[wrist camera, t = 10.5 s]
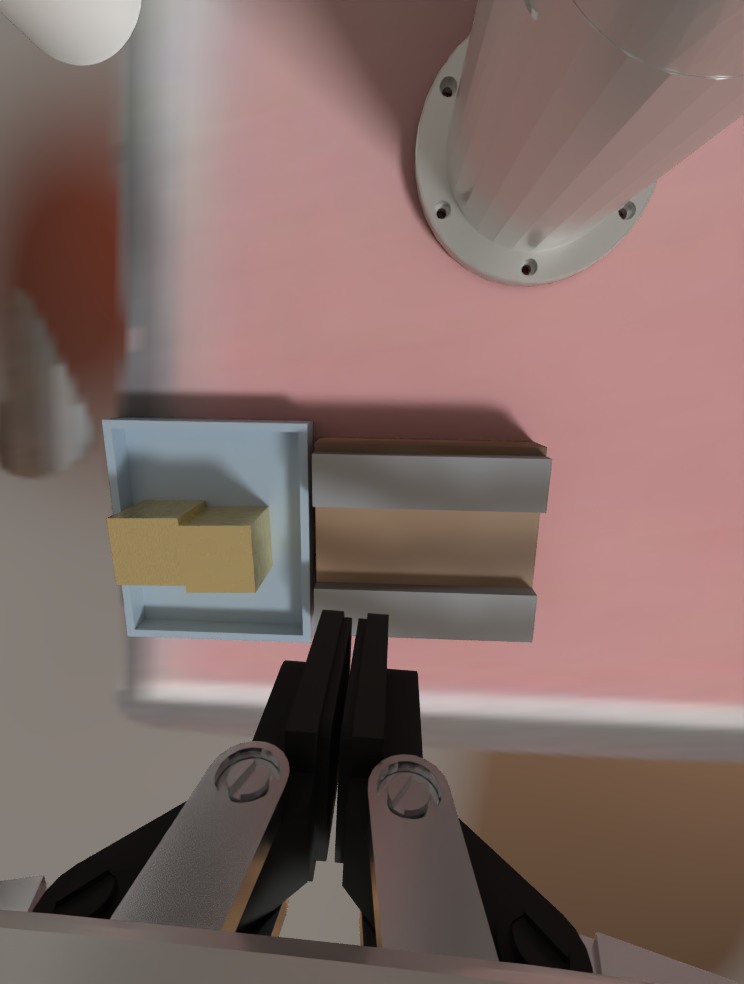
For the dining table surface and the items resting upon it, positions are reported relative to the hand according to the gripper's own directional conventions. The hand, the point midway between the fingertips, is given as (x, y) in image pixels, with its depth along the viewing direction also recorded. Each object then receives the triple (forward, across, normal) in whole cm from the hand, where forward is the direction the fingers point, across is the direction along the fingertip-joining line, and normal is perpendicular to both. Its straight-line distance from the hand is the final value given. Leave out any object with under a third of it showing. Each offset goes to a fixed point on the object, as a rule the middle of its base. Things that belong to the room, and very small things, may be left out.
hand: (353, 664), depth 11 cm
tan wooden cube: (+15, +11, +4) cm, 19 cm away
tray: (+18, +10, +4) cm, 21 cm away
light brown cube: (+17, +9, +4) cm, 20 cm away
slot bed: (+18, -3, +3) cm, 19 cm away
